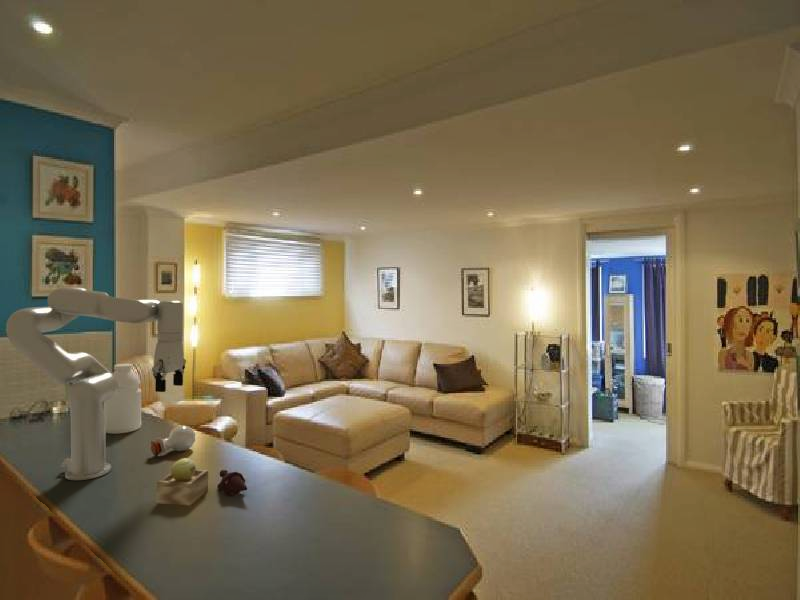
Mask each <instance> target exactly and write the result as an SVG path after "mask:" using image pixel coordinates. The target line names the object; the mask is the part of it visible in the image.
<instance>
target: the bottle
mask: <svg viewBox="0 0 800 600" xmlns="http://www.w3.org/2000/svg"><path fill="white" fill-rule="evenodd" d="M132 369H133V365H132V364H131V363H120V364H114V365H113V370H114V371H113V372H112V374H113V375H114V376H115V378H116V379H117V381H118V385H119V388H118V391H117V393H116V394H115V395H114V396H113V397H112V398H110V399H108V400H106V401H104V402H103V409H104V411H105V417H106V434H112V435H115V434H119V435H120V434H125V433H131V432H134V431H137V430H139V429H140V428H141V427H142V389H141V388H140V387H139V385H140V384H142V381H141V379H140V377H139V376H138V374H137V373H136V372H135V371H133V370H132Z"/></svg>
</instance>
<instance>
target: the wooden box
mask: <svg viewBox="0 0 800 600" xmlns="http://www.w3.org/2000/svg"><path fill="white" fill-rule="evenodd" d="M156 484H157V485H156V503H157V504H161V505H162V504H163V505H164V504H165V505H178V506H179V505H180V506H181V505H182V506H191V505H192V504H194V503H195V502H196V501H197V500H198V499H200V498H201V497H202V496H203V495H204V494H205V493H206V492H207V491H209V470H208V469H196V470H195V474H194V475H193V476H192V478H191V479H190V480H188V481H185V482H178V481H176V480H175V479H174V478H173V477H172V474H171V472H170V473H168V474H167V475H165V476H164V477H162V478H160V479H159V480H157V482H156Z"/></svg>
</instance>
